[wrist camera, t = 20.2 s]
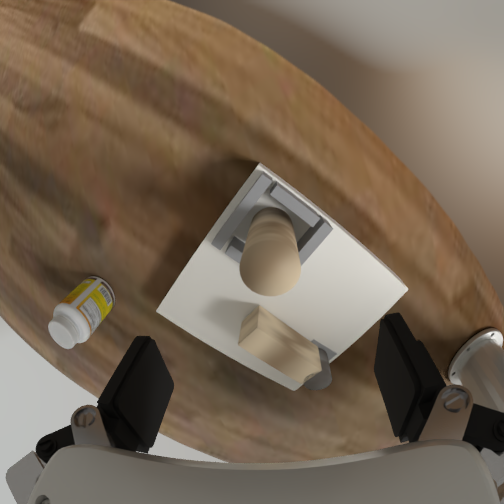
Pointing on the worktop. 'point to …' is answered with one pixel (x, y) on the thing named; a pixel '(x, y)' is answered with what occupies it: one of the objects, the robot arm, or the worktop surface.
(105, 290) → the supplement bottle
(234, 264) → the white board with frame
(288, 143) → the worktop surface
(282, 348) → the beige angular block
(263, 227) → the loose leg
